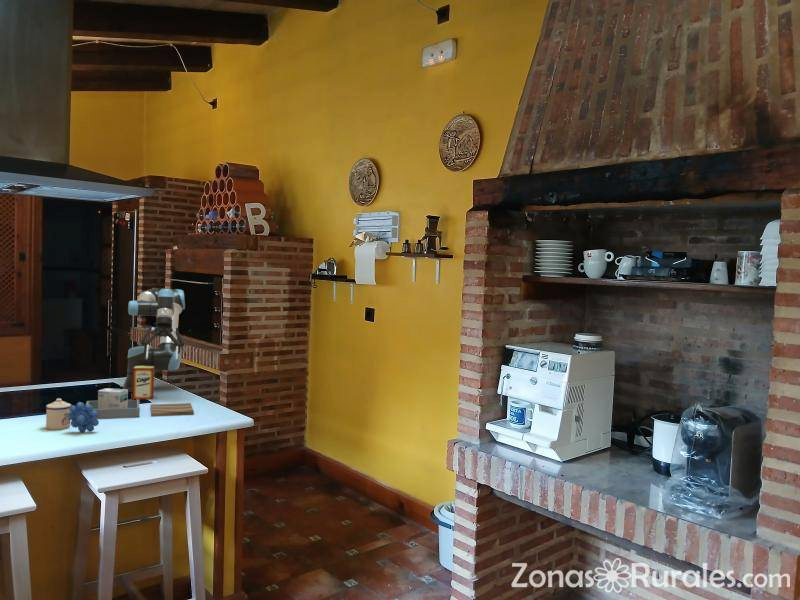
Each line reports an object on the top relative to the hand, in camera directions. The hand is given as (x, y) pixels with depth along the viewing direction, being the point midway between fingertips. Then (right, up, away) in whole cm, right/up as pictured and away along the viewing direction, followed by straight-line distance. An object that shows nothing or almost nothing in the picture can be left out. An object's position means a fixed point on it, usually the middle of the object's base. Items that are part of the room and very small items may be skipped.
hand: (161, 358), depth 306 cm
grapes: (-9, -24, -58) cm, 64 cm away
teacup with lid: (-22, -23, -51) cm, 60 cm away
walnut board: (+11, -23, -15) cm, 29 cm away
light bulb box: (-12, -22, -25) cm, 36 cm away
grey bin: (-12, -22, -25) cm, 36 cm away
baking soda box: (-13, -21, +9) cm, 26 cm away
